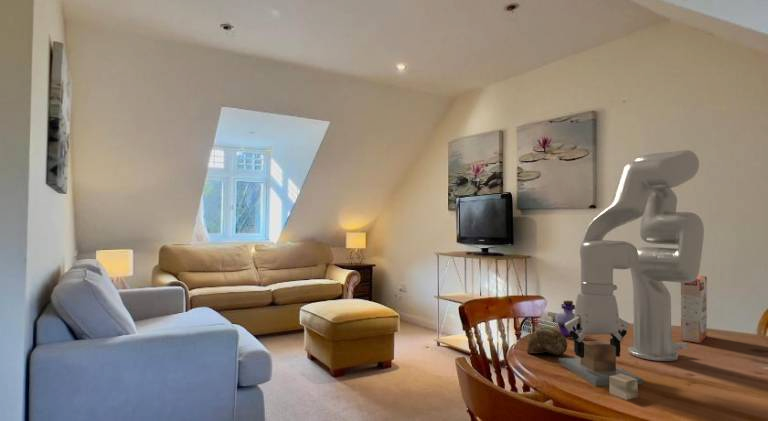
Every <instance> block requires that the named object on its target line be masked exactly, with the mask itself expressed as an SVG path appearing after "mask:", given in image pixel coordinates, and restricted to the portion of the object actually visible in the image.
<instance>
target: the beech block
mask: <svg viewBox="0 0 768 421" xmlns="http://www.w3.org/2000/svg"><path fill="white" fill-rule="evenodd" d="M638 385H639V384H638V382H637V379H635V378H632V377H629V376H626V375H623V374H618V375H613V376H609V385H608V387H609V395H612V396H615V397H617V398H620V399H622V400H625V401H627V400H632V399H635V398H638V396H639V395H638V392H639V390H638Z"/></svg>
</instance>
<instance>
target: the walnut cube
mask: <svg viewBox="0 0 768 421" xmlns="http://www.w3.org/2000/svg"><path fill="white" fill-rule="evenodd" d="M582 342H584V358H581V357H580V358H581V365H583V366H585V367H587V368H588V369H590V370H592V371H616V366H617V356H616V347H615V346H613V345H610V343H608V342H606V341H603V340H582Z"/></svg>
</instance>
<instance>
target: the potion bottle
mask: <svg viewBox="0 0 768 421" xmlns="http://www.w3.org/2000/svg"><path fill="white" fill-rule="evenodd" d="M575 306H576V304H574V301H572V300H563V302H562V304H561V309H562V310H563V312H560V313H556V314H555V320H556V324H557V325H558V331H560V332H561V333H562V334H563V335H564V336H565V338H566V337H571V336H570V335H569V334H568V331H567V330H566V328H565V326H564V324H565V323H566V322H568V321H570V320H572V319H573V318H574V317H575V312H574V311H575ZM573 331H574V332H576V331H577V330H576V329H575V327H574V326H573Z"/></svg>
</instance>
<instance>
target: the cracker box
mask: <svg viewBox="0 0 768 421" xmlns="http://www.w3.org/2000/svg"><path fill="white" fill-rule="evenodd" d="M707 280H708V278H707V276H705V275H700V274H698V277H697V278H696V280H695V281H693V282H691V283H680V341H685V342H689V343H696V344H701V343H702V342H703V341H704V339H706V337H707V335H708V334H707V333H708V332H707V331H708V329H707V326H708V323H707V322H708V321H707V319H708V313H707V312H708V311H707V309H708V308H707V307H708V303H707V302H708V301H707V299H708V295H707V294H708V293H707V292H708V291H707V290H708V285H707V284H708V281H707Z"/></svg>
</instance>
